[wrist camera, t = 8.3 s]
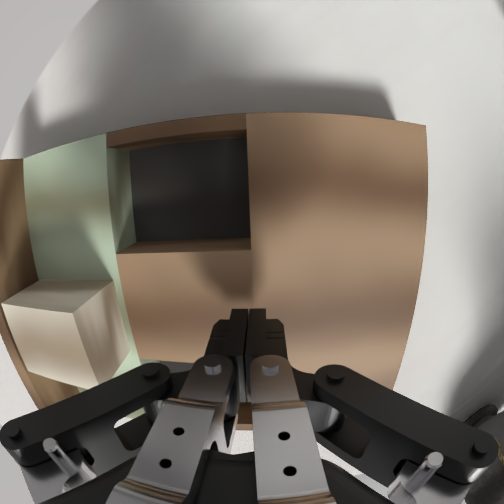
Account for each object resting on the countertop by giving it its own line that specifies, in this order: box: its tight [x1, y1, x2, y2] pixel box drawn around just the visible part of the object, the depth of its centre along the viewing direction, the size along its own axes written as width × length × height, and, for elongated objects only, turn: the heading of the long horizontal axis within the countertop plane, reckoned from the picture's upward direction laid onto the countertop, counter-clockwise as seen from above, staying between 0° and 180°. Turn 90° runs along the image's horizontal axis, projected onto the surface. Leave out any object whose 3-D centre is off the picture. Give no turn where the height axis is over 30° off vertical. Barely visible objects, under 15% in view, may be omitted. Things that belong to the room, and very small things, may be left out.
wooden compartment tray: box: [0, 112, 428, 430], centre depth 13 cm, size 19×24×7 cm
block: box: [1, 279, 131, 389], centre depth 12 cm, size 4×6×4 cm
